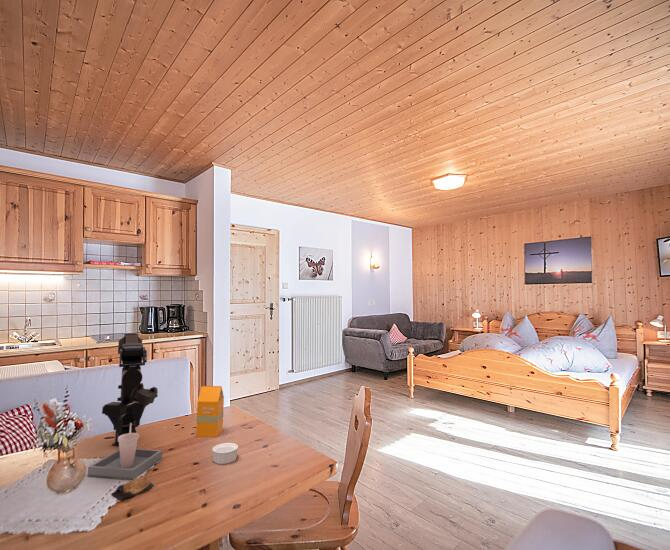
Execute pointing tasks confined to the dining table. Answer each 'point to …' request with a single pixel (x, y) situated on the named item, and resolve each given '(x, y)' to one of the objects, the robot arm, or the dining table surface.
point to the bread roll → (133, 489)
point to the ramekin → (224, 453)
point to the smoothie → (127, 448)
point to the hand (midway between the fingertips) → (128, 428)
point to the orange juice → (210, 411)
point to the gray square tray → (113, 469)
